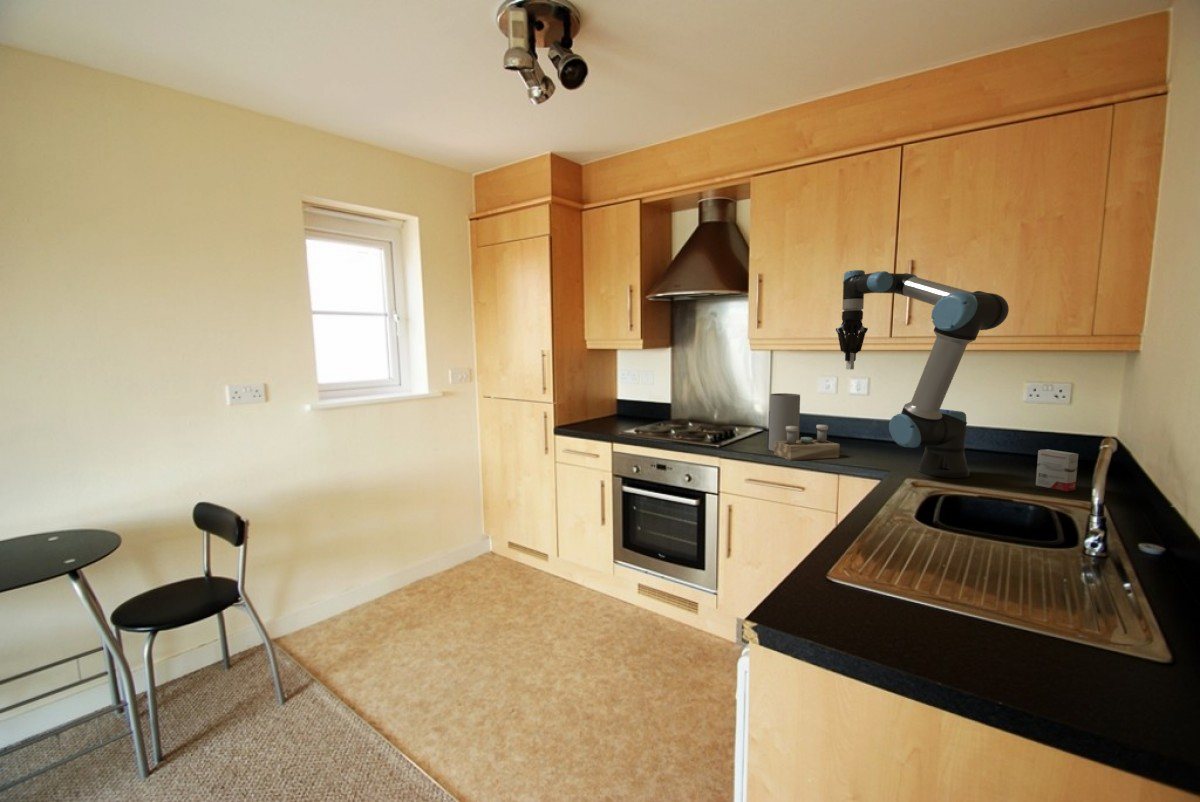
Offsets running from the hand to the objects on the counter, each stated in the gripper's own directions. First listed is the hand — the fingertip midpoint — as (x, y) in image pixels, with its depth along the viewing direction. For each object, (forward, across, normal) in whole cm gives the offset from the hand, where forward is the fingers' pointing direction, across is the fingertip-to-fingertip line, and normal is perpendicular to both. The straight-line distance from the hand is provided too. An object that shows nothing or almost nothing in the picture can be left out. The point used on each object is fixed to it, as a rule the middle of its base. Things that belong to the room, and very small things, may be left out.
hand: (849, 369), depth 205 cm
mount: (+37, +15, -4) cm, 40 cm away
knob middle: (+36, +15, -4) cm, 39 cm away
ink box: (+36, -36, +54) cm, 74 cm away
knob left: (+31, +22, -4) cm, 38 cm away
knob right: (+31, +8, -5) cm, 32 cm away
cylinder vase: (+37, +18, -18) cm, 45 cm away
